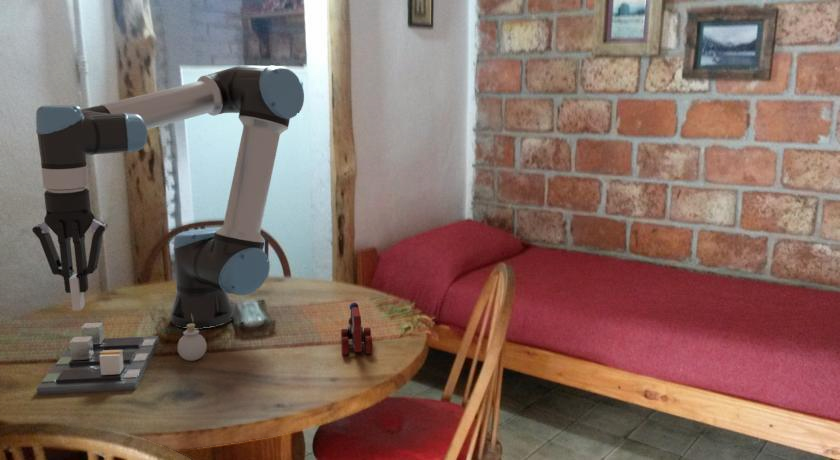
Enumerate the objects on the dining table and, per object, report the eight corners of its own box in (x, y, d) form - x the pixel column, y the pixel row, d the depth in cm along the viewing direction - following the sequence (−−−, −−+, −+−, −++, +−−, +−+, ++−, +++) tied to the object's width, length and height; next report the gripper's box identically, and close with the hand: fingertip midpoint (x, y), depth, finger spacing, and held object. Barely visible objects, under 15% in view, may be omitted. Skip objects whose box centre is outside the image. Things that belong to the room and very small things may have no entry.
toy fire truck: (369, 338, 163) (369, 297, 160) (373, 359, 151) (373, 315, 148) (340, 339, 162) (340, 297, 159) (341, 360, 150) (341, 316, 147)
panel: (159, 342, 157) (157, 316, 155) (135, 389, 134) (133, 360, 133) (75, 345, 154) (73, 319, 152) (37, 394, 131) (33, 364, 129)
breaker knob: (123, 368, 138) (122, 348, 137) (120, 374, 135) (118, 354, 134) (104, 368, 137) (103, 349, 136) (101, 375, 135) (99, 354, 134)
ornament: (176, 366, 145) (173, 322, 142) (181, 352, 152) (178, 310, 150) (205, 364, 146) (203, 321, 144) (209, 350, 153) (207, 308, 151)
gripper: (108, 185, 131) (118, 300, 137) (36, 185, 129) (49, 302, 135) (98, 192, 124) (109, 313, 130) (20, 193, 122) (35, 316, 128)
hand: (78, 307), depth 132 cm, fingers closed
